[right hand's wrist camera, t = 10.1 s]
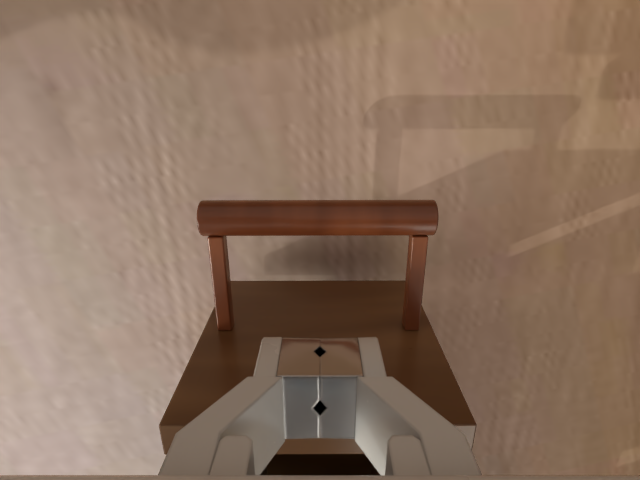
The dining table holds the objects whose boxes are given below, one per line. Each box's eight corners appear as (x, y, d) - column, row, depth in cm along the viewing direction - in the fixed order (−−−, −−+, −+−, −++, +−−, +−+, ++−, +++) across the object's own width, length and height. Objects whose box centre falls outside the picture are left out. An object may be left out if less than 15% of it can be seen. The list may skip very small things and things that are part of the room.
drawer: (216, 176, 19) (125, 258, 10) (419, 175, 19) (507, 256, 10) (250, 528, 28) (218, 735, 19) (388, 527, 28) (420, 735, 19)
